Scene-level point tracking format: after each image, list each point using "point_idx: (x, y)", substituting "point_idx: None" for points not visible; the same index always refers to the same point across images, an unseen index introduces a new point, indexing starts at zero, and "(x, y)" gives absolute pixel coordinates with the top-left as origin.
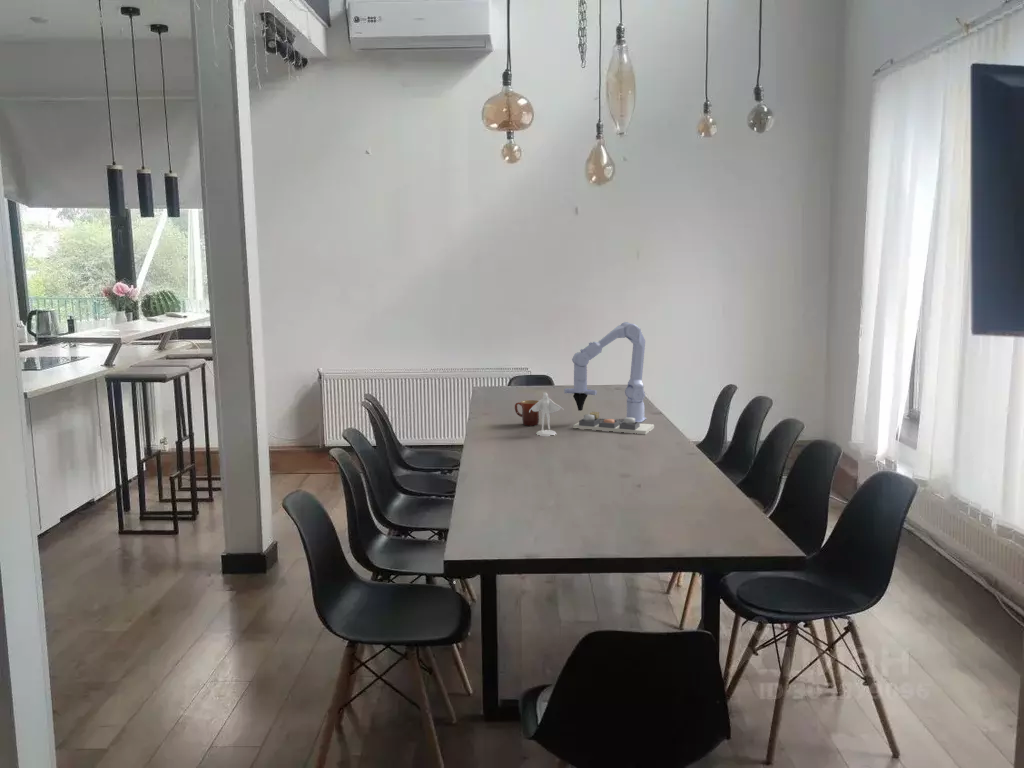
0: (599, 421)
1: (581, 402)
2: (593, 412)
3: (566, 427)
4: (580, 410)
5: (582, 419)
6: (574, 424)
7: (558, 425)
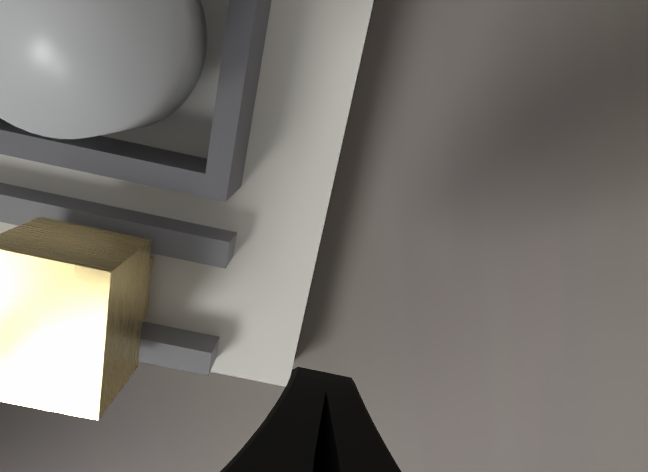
0: (4, 191)
1: (242, 470)
2: (63, 353)
3: (489, 31)
4: (304, 370)
5: (232, 58)
6: (371, 1)
7: (610, 154)
